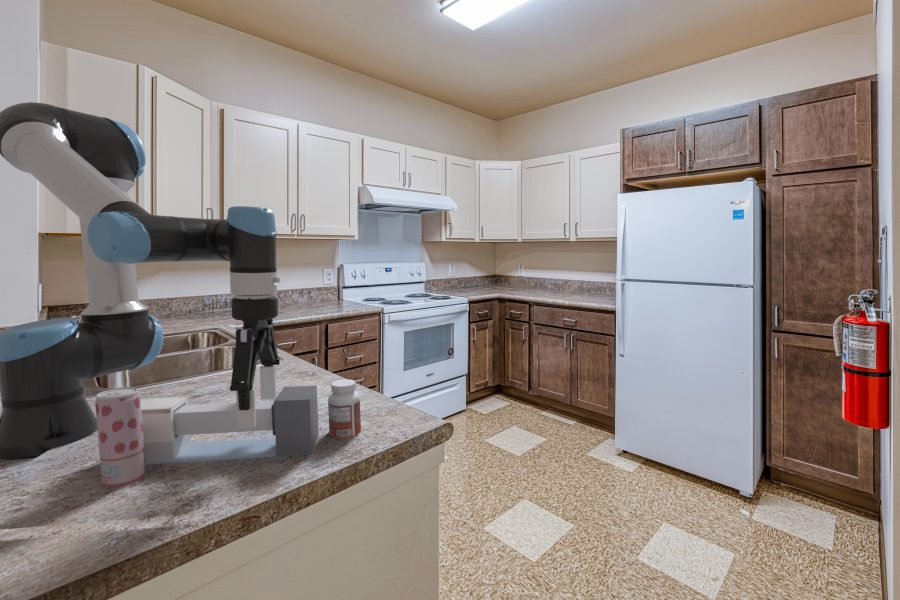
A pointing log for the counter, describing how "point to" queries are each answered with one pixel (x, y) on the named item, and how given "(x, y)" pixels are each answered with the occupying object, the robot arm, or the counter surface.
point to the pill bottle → (344, 410)
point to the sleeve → (162, 428)
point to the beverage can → (120, 436)
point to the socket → (296, 420)
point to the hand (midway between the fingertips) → (258, 411)
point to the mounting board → (227, 450)
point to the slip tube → (220, 418)
